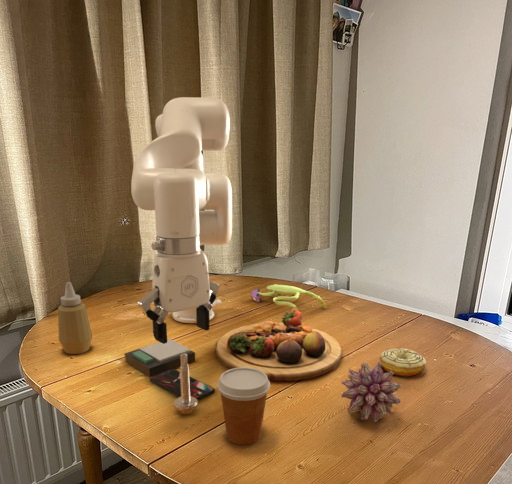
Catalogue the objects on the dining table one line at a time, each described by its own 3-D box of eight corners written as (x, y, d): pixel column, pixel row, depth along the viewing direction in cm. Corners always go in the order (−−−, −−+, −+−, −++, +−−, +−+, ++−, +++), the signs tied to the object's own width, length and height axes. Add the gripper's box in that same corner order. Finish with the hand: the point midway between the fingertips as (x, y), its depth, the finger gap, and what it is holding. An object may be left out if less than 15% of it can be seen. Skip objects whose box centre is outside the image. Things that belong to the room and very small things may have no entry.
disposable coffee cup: (217, 421, 98) (216, 366, 93) (266, 420, 98) (267, 365, 94) (218, 451, 89) (217, 391, 84) (271, 449, 90) (273, 390, 85)
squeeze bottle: (83, 358, 124) (74, 288, 117) (54, 355, 125) (43, 286, 119) (99, 345, 131) (92, 279, 124) (71, 342, 133) (62, 277, 126)
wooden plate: (262, 321, 148) (263, 295, 145) (362, 348, 131) (365, 319, 128) (189, 358, 124) (188, 327, 121) (300, 397, 107) (302, 362, 104)
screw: (202, 407, 103) (191, 419, 98) (180, 403, 104) (169, 415, 100) (200, 350, 98) (189, 360, 94) (178, 346, 99) (166, 356, 95)
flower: (381, 407, 107) (414, 426, 95) (329, 413, 103) (357, 433, 92) (383, 354, 105) (416, 367, 93) (330, 358, 101) (359, 372, 90)
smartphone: (172, 368, 118) (216, 388, 108) (172, 370, 118) (216, 391, 108) (147, 378, 113) (191, 401, 103) (147, 381, 113) (191, 404, 103)
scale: (169, 347, 130) (169, 336, 129) (195, 361, 123) (195, 349, 122) (125, 362, 122) (124, 350, 121) (149, 377, 114) (148, 365, 113)
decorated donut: (432, 368, 121) (434, 354, 120) (411, 383, 114) (414, 368, 112) (393, 355, 127) (394, 341, 126) (371, 368, 120) (373, 354, 119)
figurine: (282, 321, 149) (283, 303, 147) (241, 296, 171) (241, 280, 169) (332, 311, 157) (334, 294, 155) (287, 288, 179) (288, 273, 177)
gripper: (147, 256, 80) (154, 353, 87) (229, 242, 92) (230, 329, 98) (124, 248, 86) (132, 340, 92) (204, 236, 97) (206, 319, 103)
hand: (182, 334), depth 95 cm, fingers open, 9 cm apart
